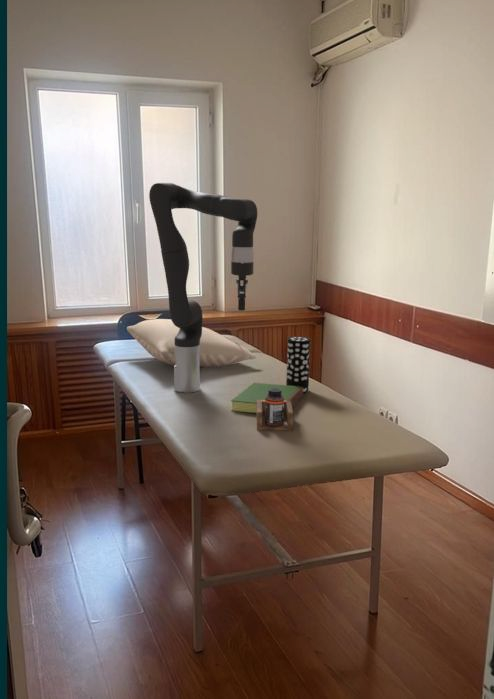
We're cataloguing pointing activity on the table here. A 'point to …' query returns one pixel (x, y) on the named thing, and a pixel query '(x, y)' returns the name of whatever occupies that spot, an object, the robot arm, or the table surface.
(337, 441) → the table surface
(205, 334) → the pillow
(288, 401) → the open-sided wooden box
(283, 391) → the hardcover book
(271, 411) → the supplement bottle
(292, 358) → the white-spotted black cylinder
